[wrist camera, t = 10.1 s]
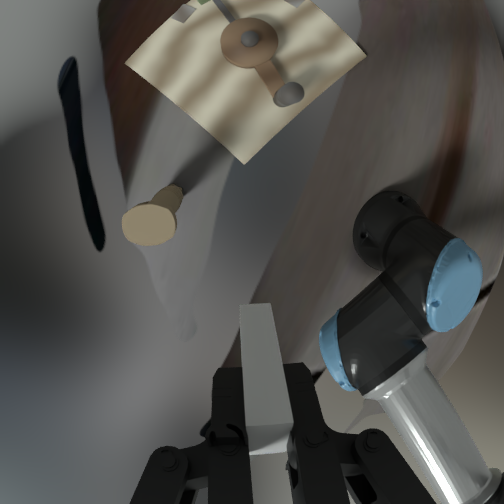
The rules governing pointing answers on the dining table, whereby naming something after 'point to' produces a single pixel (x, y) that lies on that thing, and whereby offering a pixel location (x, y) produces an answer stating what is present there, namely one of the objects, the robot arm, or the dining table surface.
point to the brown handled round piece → (257, 54)
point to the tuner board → (240, 79)
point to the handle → (153, 218)
